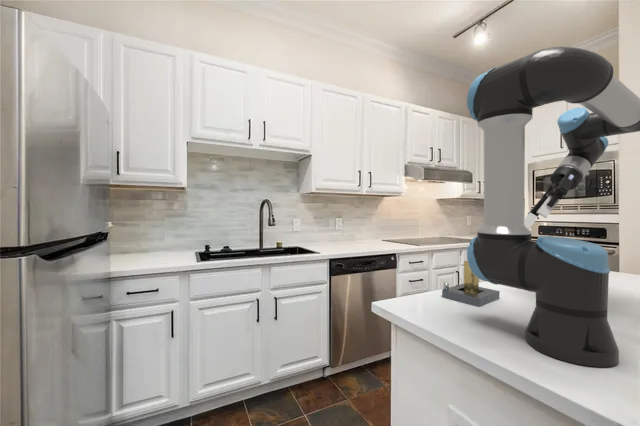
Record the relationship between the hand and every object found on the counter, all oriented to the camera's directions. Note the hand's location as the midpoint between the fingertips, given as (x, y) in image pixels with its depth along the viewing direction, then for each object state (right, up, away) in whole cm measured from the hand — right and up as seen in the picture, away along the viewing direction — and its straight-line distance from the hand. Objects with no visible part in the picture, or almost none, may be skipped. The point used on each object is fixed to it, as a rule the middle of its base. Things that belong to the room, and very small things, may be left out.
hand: (531, 222), depth 92 cm
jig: (-15, -25, +6) cm, 30 cm away
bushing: (-15, -25, +6) cm, 30 cm away
